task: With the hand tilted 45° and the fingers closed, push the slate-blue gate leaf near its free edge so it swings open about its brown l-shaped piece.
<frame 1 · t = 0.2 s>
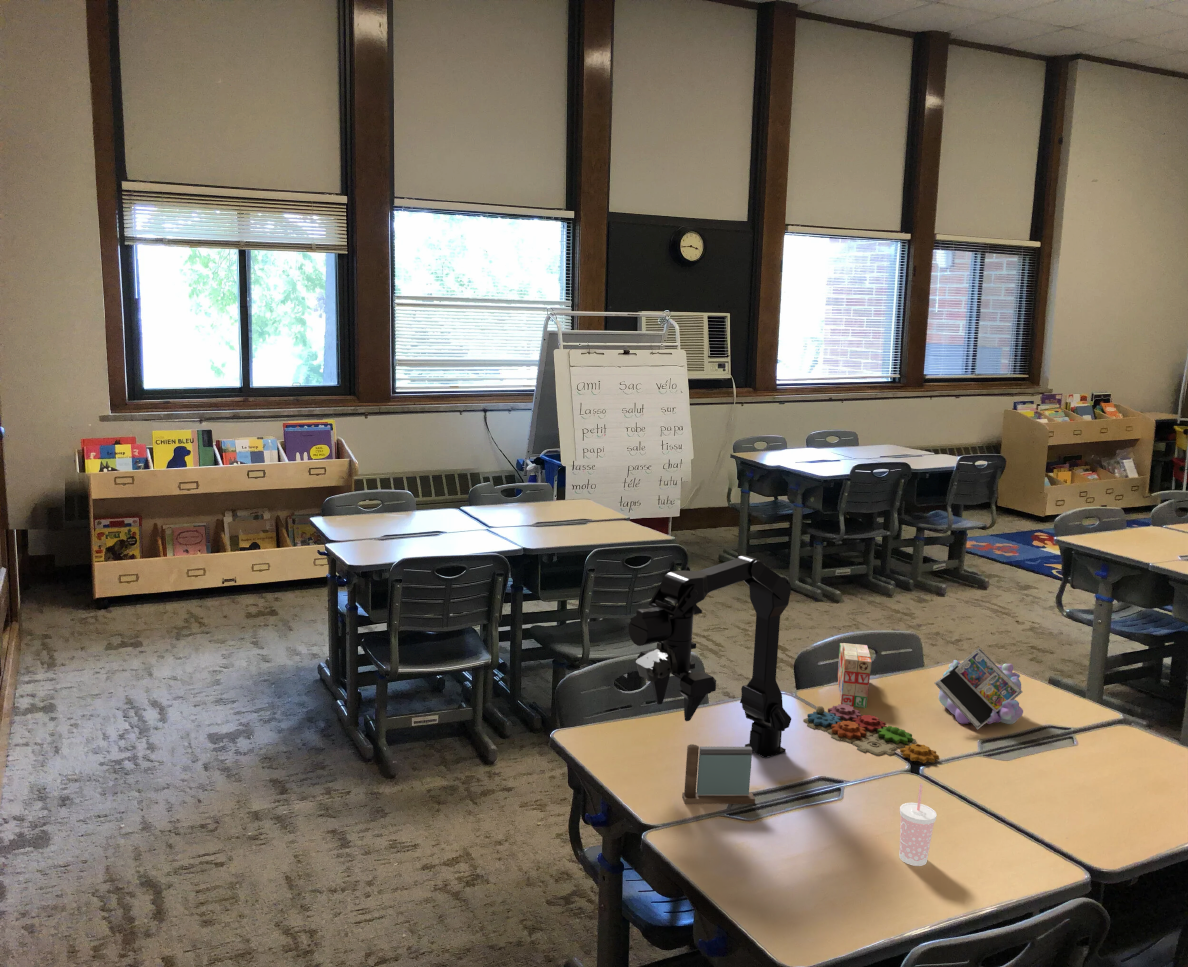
hand: (673, 712, 193), 14 cm above the table, fingers open, 9 cm apart
bubbly comic picture frame: (977, 718, 235), on the table
beverage cup: (912, 859, 170), on the table
stack of blocks: (851, 692, 249), on the table
gate leaf: (724, 770, 187), point 6 cm above the table, hinge at 0.0°
brown l-shaped piece: (689, 800, 187), on the table
gear puzzle: (872, 741, 220), on the table
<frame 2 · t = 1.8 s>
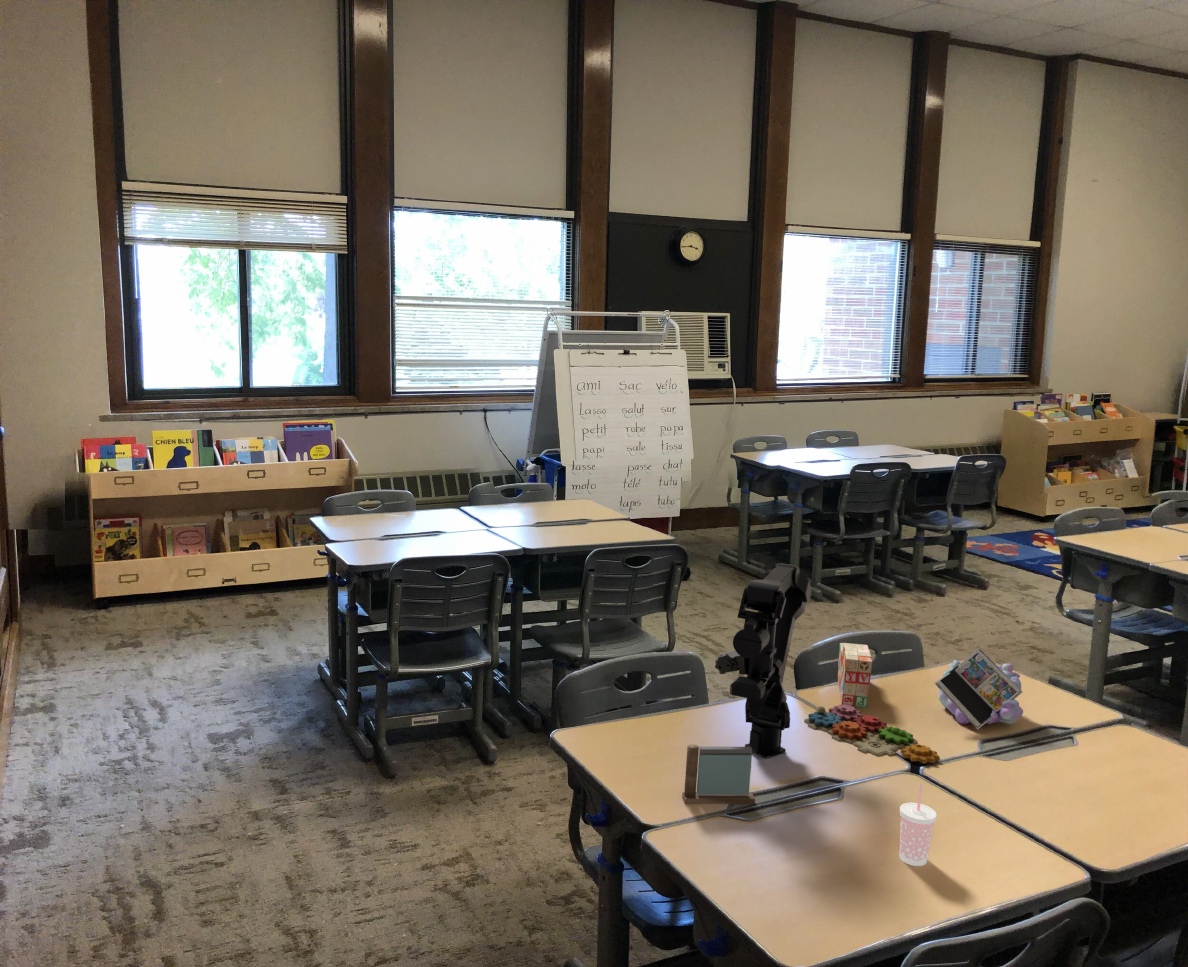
hand: (754, 716, 199), 12 cm above the table, fingers closed
nothing on the table moved.
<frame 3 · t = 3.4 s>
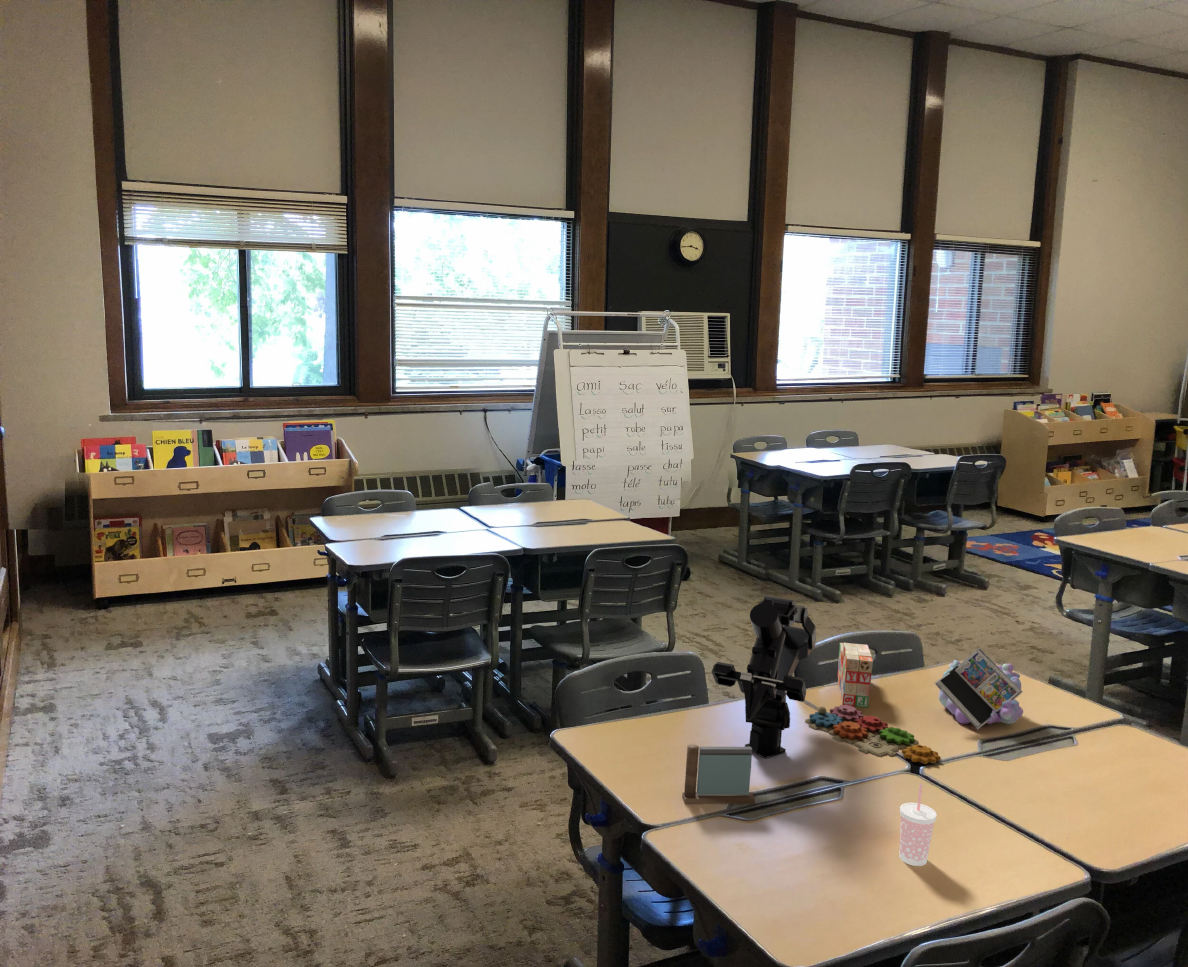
hand: (748, 719, 195), 13 cm above the table, fingers closed
nothing on the table moved.
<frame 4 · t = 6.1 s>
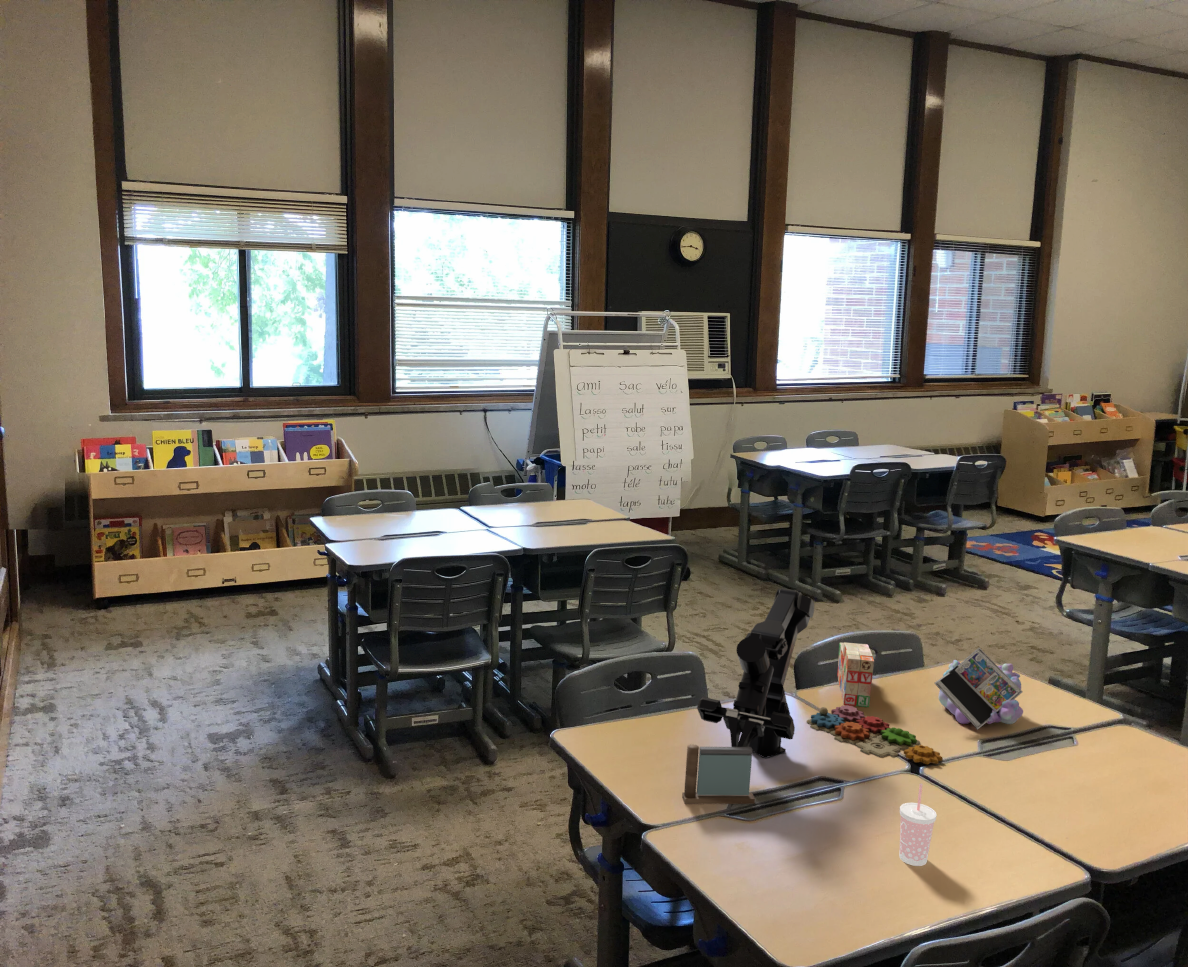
hand: (734, 758, 188), 8 cm above the table, fingers closed
gate leaf: (724, 770, 187), point 6 cm above the table, hinge at -0.8°, touching gripper
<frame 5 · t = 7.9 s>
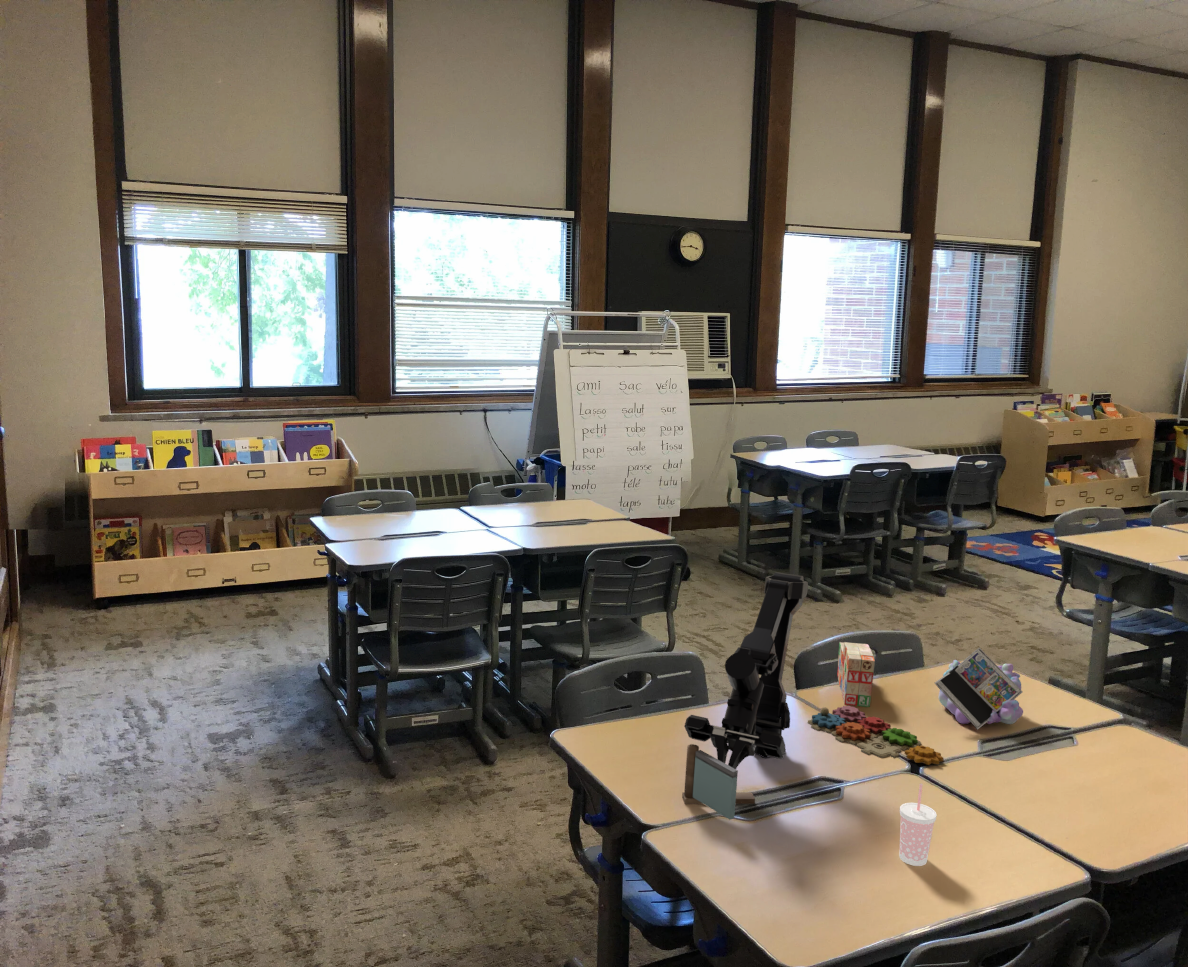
hand: (723, 778, 181), 7 cm above the table, fingers closed
gate leaf: (714, 784, 181), point 6 cm above the table, hinge at -58.8°, touching gripper
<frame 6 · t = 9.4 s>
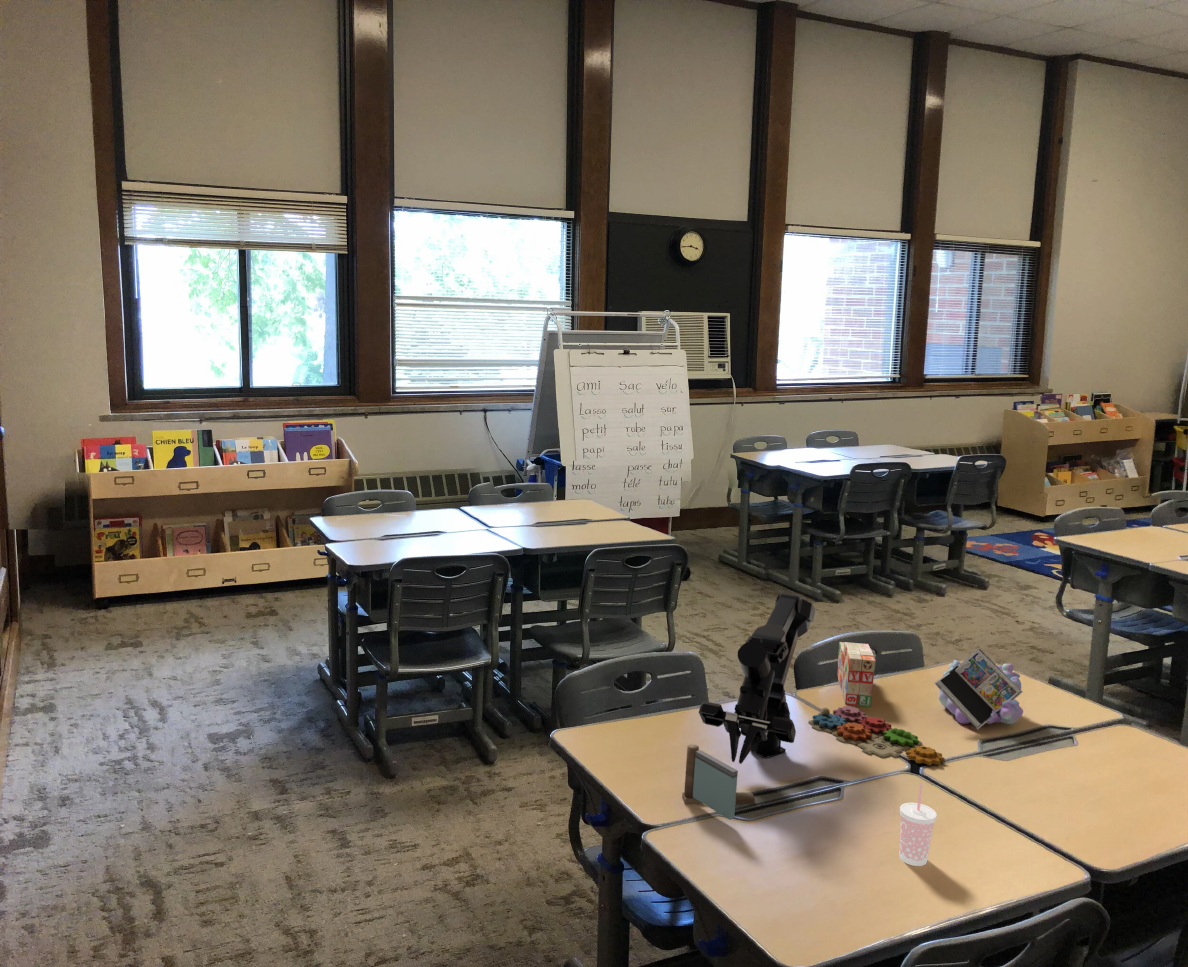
hand: (736, 762, 189), 7 cm above the table, fingers closed
gate leaf: (714, 784, 181), point 6 cm above the table, hinge at -58.8°
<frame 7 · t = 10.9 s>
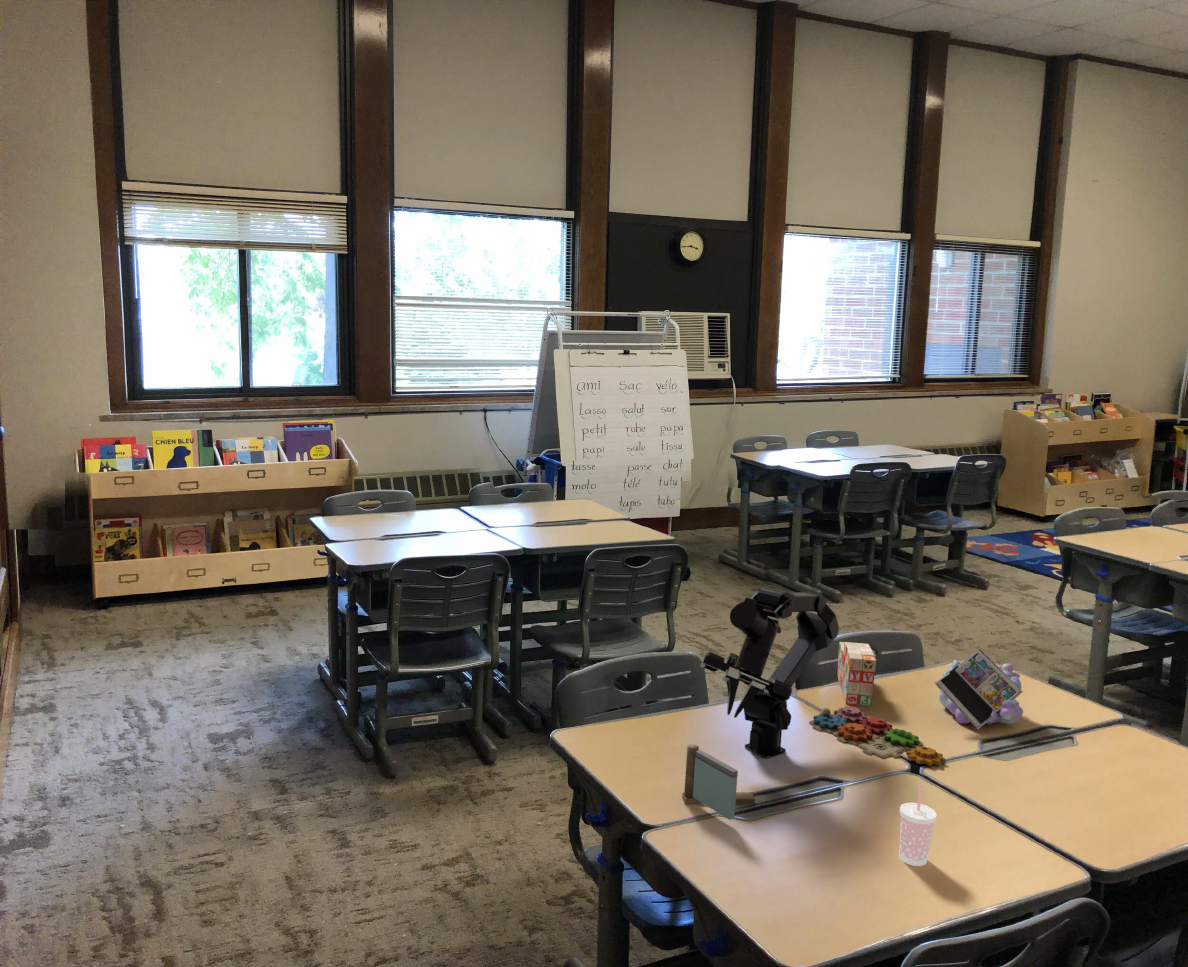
hand: (731, 716, 198), 12 cm above the table, fingers closed
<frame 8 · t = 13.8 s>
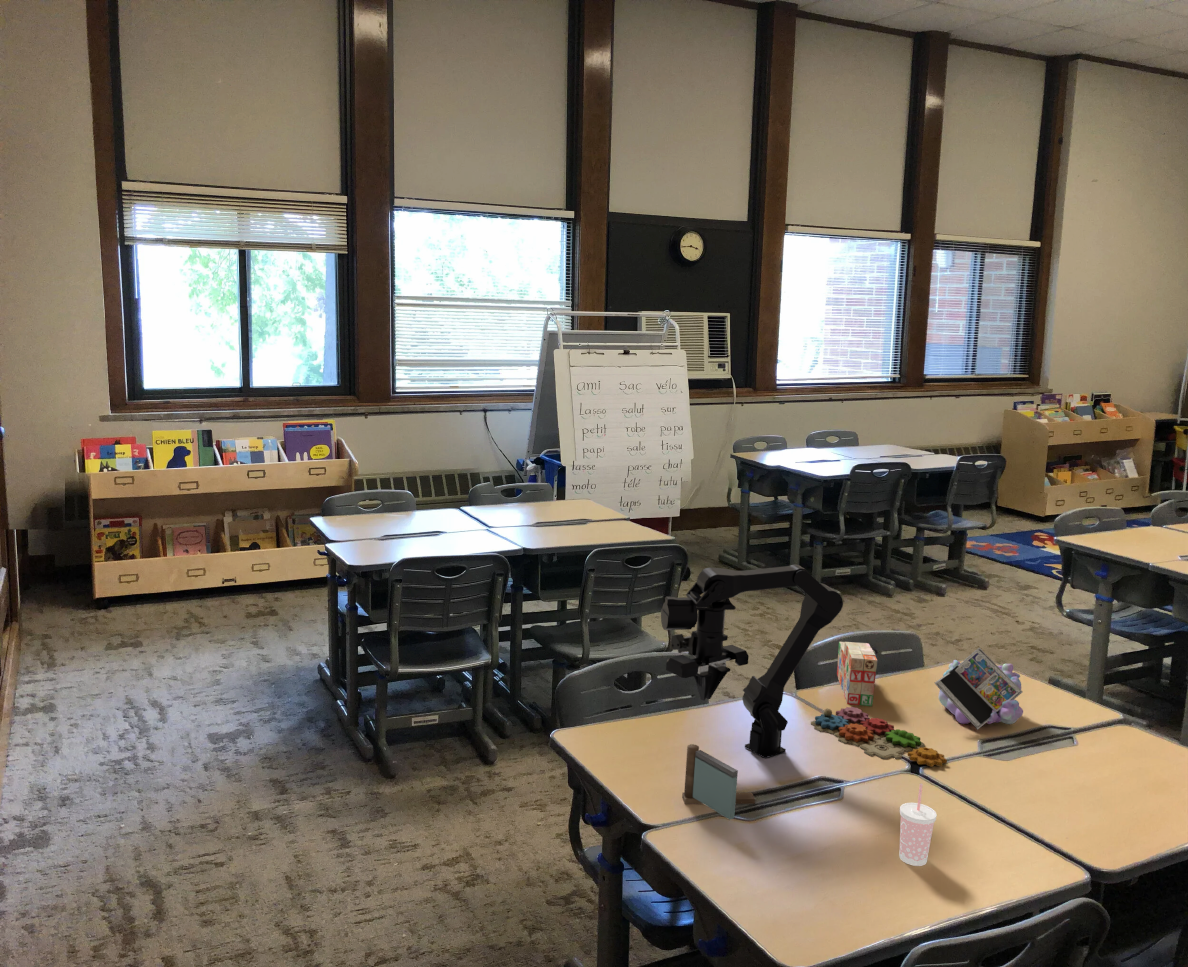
hand: (705, 699, 207), 12 cm above the table, fingers closed
at the end: gate leaf at -59° (first picture: +0°) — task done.
